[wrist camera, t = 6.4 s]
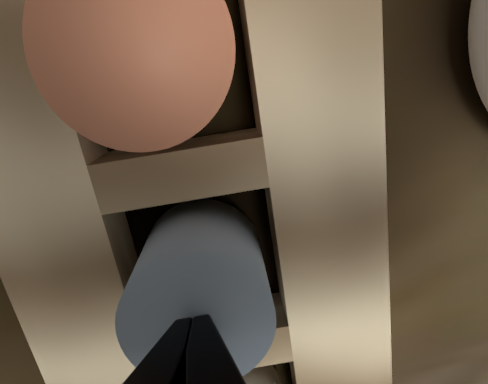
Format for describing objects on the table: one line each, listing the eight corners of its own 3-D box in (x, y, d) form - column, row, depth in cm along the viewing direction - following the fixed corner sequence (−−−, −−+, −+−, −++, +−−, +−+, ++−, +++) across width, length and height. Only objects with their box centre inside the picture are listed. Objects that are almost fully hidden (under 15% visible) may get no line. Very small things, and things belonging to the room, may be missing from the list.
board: (373, 417, 16) (394, 462, 14) (115, 463, 16) (101, 514, 14) (348, -104, 10) (377, -147, 8) (-75, -38, 10) (-146, -65, 8)
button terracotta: (239, 116, 11) (249, 135, 7) (115, 136, 11) (60, 167, 7) (217, -26, 10) (216, -91, 6) (77, -4, 10) (-12, -55, 6)
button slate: (266, 290, 13) (284, 374, 9) (161, 307, 13) (137, 400, 9) (251, 189, 12) (265, 241, 8) (134, 209, 12) (94, 270, 8)
